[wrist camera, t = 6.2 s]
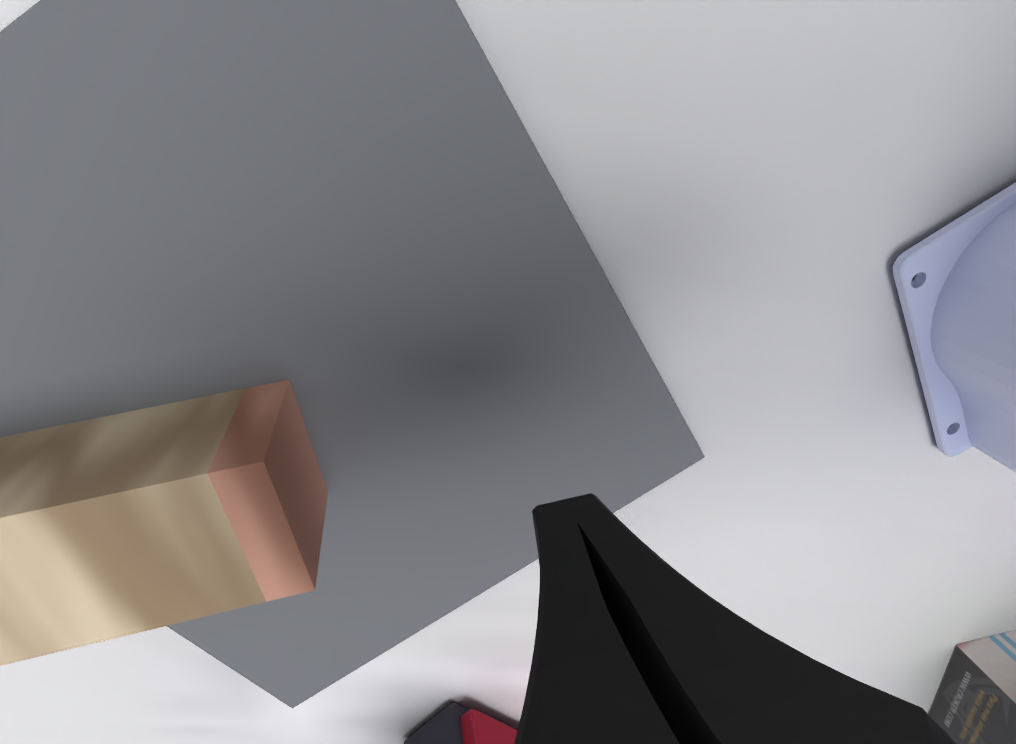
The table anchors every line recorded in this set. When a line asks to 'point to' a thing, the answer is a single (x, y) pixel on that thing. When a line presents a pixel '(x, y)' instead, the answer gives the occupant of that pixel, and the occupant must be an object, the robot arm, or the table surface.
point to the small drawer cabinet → (463, 728)
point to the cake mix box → (979, 692)
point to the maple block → (155, 518)
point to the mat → (320, 290)
